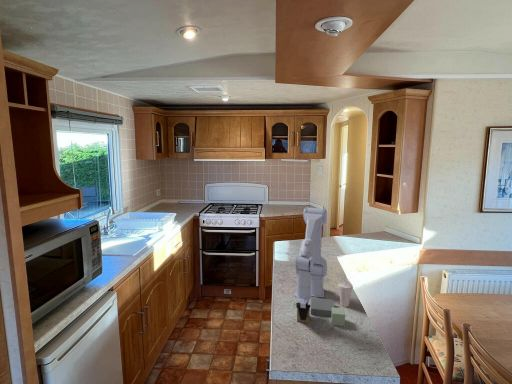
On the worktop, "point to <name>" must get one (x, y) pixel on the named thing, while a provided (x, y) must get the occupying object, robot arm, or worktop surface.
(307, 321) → the walnut cube
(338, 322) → the sage block
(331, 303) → the charcoal slab
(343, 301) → the smoothie
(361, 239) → the worktop surface
